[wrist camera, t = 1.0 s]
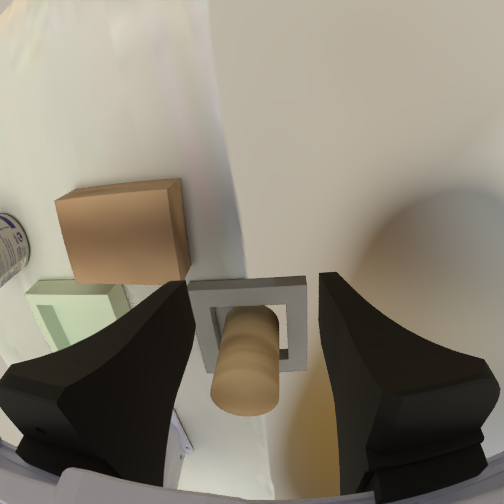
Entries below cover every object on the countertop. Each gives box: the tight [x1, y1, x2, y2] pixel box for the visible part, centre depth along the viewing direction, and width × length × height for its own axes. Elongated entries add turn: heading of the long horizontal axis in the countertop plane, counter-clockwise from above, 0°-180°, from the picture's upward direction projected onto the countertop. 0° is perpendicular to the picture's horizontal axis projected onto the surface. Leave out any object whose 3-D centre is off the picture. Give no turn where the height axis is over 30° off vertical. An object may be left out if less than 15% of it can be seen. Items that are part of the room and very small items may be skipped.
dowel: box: [210, 305, 279, 416], centre depth 20 cm, size 4×4×7 cm
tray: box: [24, 280, 130, 353], centre depth 24 cm, size 9×9×2 cm
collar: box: [187, 276, 307, 373], centre depth 23 cm, size 8×8×1 cm
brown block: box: [55, 178, 191, 285], centre depth 20 cm, size 6×8×3 cm
